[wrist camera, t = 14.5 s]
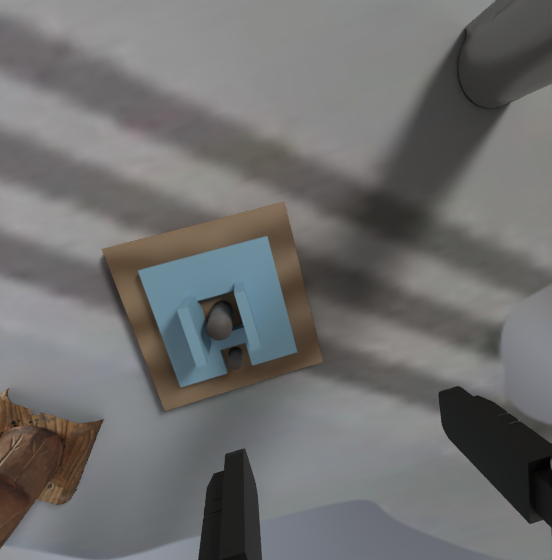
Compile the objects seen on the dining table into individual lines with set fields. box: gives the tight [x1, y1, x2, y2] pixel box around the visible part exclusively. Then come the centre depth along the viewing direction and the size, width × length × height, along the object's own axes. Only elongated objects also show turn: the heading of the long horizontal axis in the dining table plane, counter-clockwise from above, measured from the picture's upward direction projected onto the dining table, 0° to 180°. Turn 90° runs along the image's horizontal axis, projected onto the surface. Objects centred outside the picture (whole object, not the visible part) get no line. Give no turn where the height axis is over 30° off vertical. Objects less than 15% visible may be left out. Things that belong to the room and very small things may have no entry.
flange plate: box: [138, 236, 297, 387], centre depth 30 cm, size 14×14×6 cm
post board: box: [102, 202, 323, 411], centre depth 31 cm, size 20×20×8 cm
